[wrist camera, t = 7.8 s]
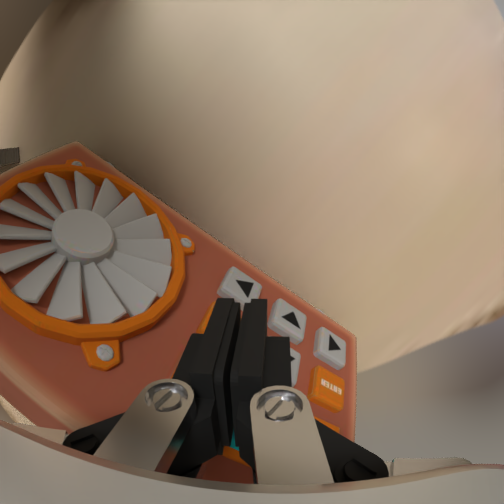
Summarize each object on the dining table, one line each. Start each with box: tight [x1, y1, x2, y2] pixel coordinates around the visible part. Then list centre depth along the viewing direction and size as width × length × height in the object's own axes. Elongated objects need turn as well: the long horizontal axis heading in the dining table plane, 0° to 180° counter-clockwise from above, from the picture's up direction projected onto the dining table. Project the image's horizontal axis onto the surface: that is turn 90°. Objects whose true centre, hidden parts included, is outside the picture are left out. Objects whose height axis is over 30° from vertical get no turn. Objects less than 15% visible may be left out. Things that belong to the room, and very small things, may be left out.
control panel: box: [0, 141, 357, 484], centre depth 14 cm, size 21×7×15 cm, turn 55°
